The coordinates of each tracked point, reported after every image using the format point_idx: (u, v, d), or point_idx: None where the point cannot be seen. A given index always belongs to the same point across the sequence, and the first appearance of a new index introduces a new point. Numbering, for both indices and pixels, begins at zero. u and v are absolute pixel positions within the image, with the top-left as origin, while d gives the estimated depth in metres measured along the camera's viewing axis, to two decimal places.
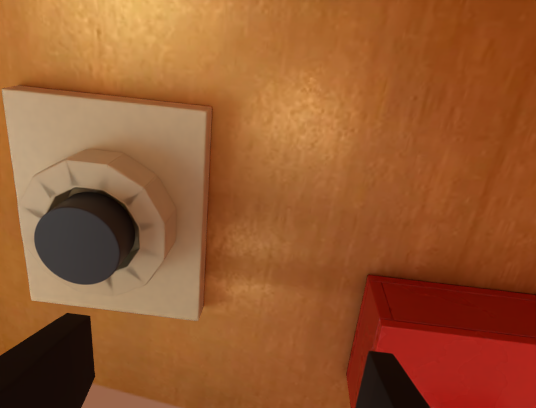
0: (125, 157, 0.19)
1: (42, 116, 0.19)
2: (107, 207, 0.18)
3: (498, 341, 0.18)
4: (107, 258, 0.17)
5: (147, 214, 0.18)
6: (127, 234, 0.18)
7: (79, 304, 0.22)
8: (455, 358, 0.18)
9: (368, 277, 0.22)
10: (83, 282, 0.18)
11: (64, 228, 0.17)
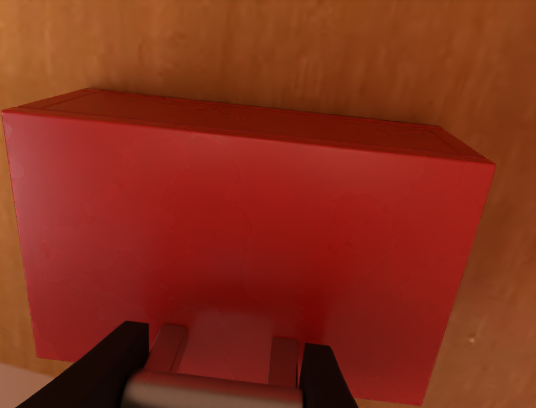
0: None
1: None
2: None
3: (213, 136, 0.09)
4: None
5: None
6: None
7: None
8: (148, 177, 0.10)
9: (82, 90, 0.13)
10: None
11: None
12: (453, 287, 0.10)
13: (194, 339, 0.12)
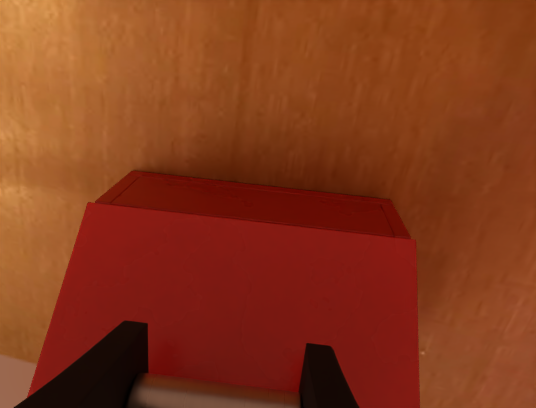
0: None
1: None
2: None
3: (229, 220, 0.14)
4: None
5: None
6: None
7: None
8: (178, 246, 0.14)
9: (129, 173, 0.18)
10: None
11: None
12: (414, 338, 0.13)
13: None
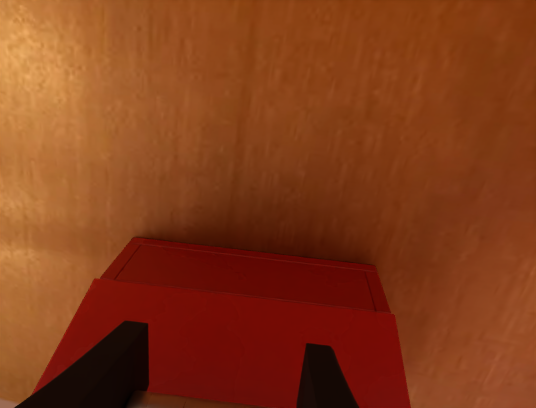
0: None
1: None
2: None
3: (224, 295, 0.16)
4: None
5: None
6: None
7: None
8: (176, 315, 0.15)
9: (131, 239, 0.19)
10: None
11: None
12: (405, 399, 0.13)
13: None
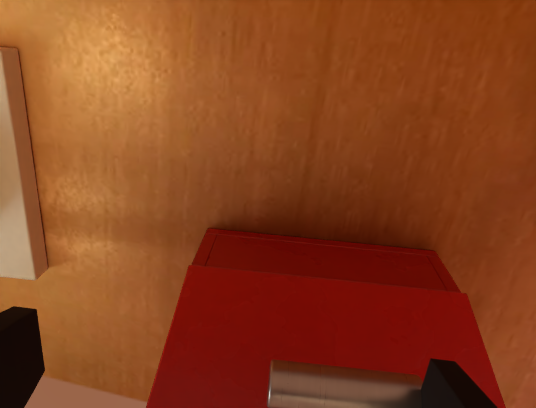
0: None
1: None
2: None
3: (309, 278, 0.17)
4: None
5: None
6: None
7: None
8: (270, 297, 0.16)
9: (207, 230, 0.21)
10: None
11: None
12: (488, 367, 0.14)
13: None
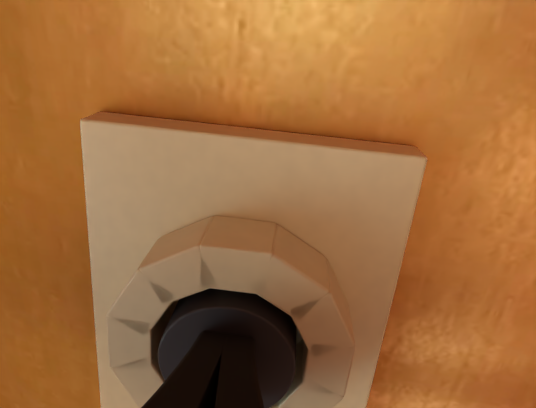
0: (281, 231, 0.11)
1: (144, 165, 0.11)
2: None
3: None
4: (273, 381, 0.11)
5: (327, 332, 0.11)
6: (295, 338, 0.12)
7: None
8: None
9: None
10: None
11: None
12: None
13: None
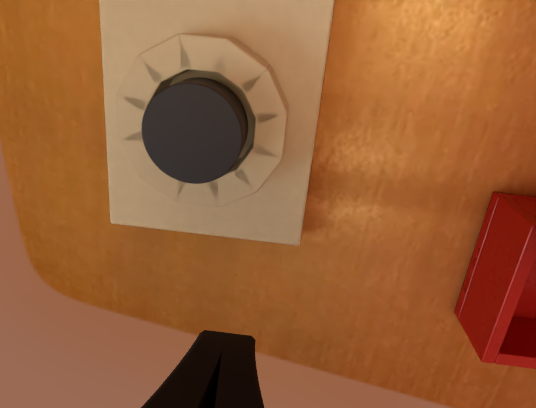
0: (238, 40, 0.16)
1: None
2: (225, 91, 0.15)
3: None
4: (226, 149, 0.15)
5: (268, 102, 0.16)
6: (245, 125, 0.16)
7: (165, 227, 0.20)
8: None
9: (495, 194, 0.19)
10: (194, 180, 0.15)
11: (179, 110, 0.14)
12: None
13: None
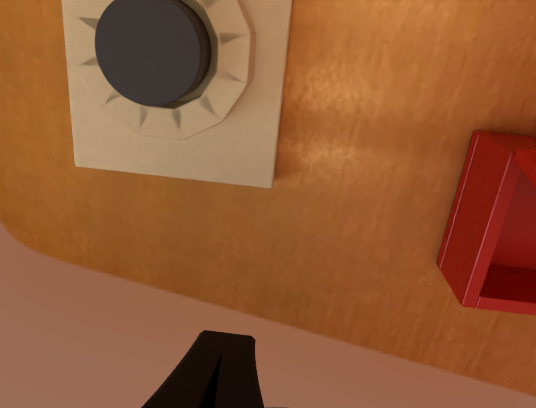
0: None
1: None
2: (184, 5, 0.14)
3: None
4: (184, 65, 0.14)
5: (230, 20, 0.15)
6: (206, 44, 0.15)
7: (132, 170, 0.19)
8: None
9: (475, 132, 0.18)
10: (152, 102, 0.15)
11: (133, 23, 0.14)
12: None
13: None
